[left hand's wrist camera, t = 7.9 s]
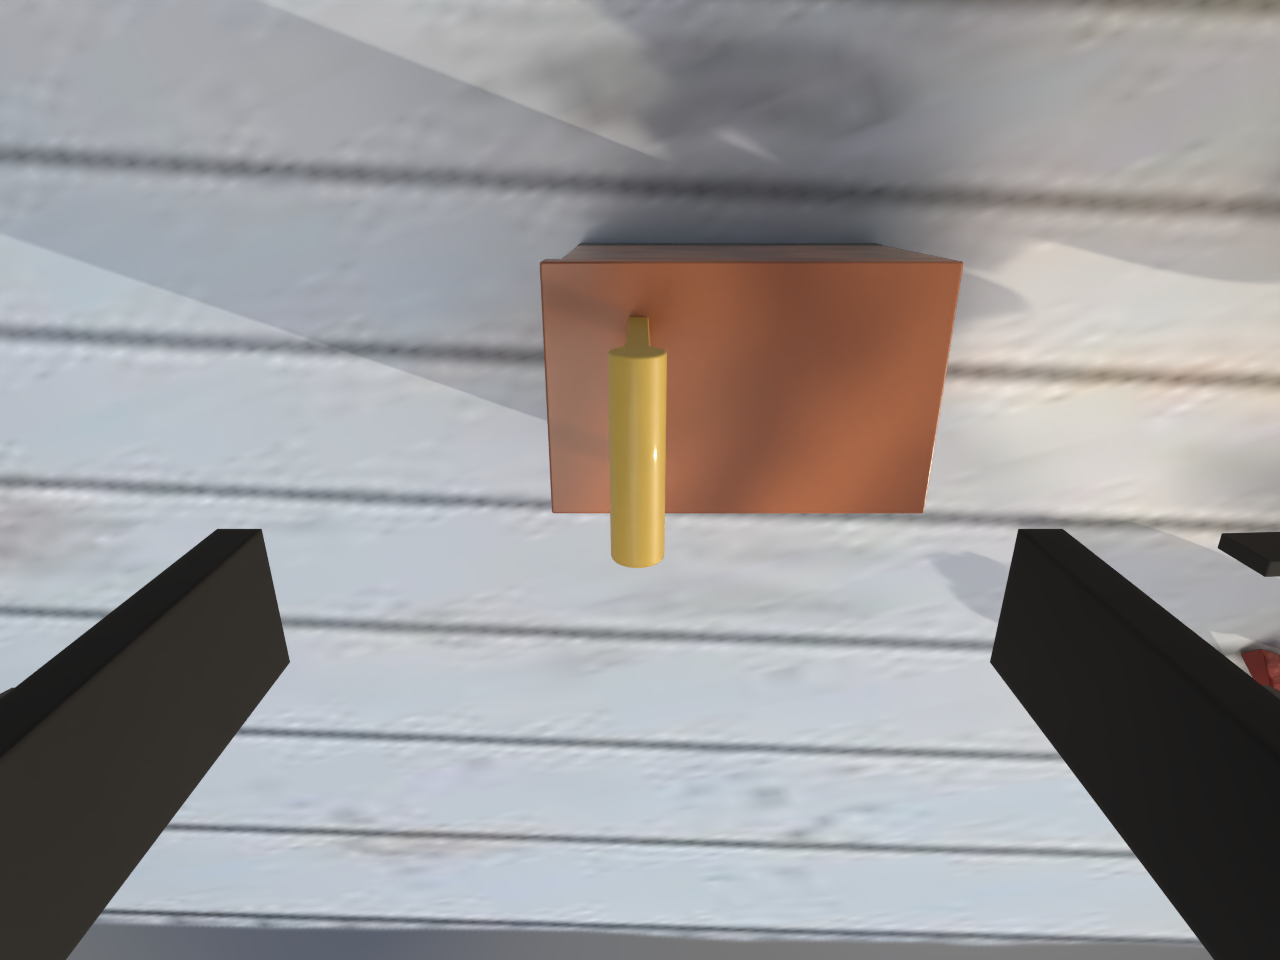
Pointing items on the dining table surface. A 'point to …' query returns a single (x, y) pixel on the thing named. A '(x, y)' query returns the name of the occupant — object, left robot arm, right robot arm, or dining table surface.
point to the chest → (742, 251)
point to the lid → (742, 387)
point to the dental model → (1263, 667)
